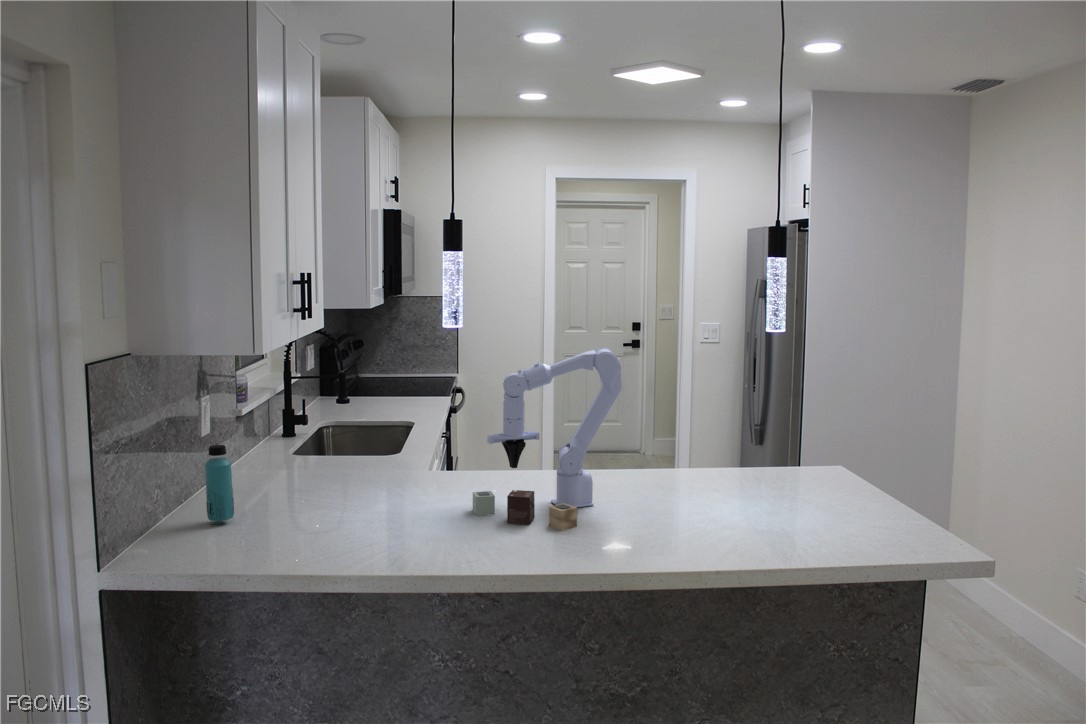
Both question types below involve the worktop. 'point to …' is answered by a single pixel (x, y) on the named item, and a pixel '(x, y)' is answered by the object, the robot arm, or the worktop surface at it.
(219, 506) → the beverage bottle
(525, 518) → the box
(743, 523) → the worktop surface
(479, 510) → the sage marked block
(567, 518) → the oak marked block
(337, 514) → the worktop surface
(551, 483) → the worktop surface
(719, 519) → the worktop surface
